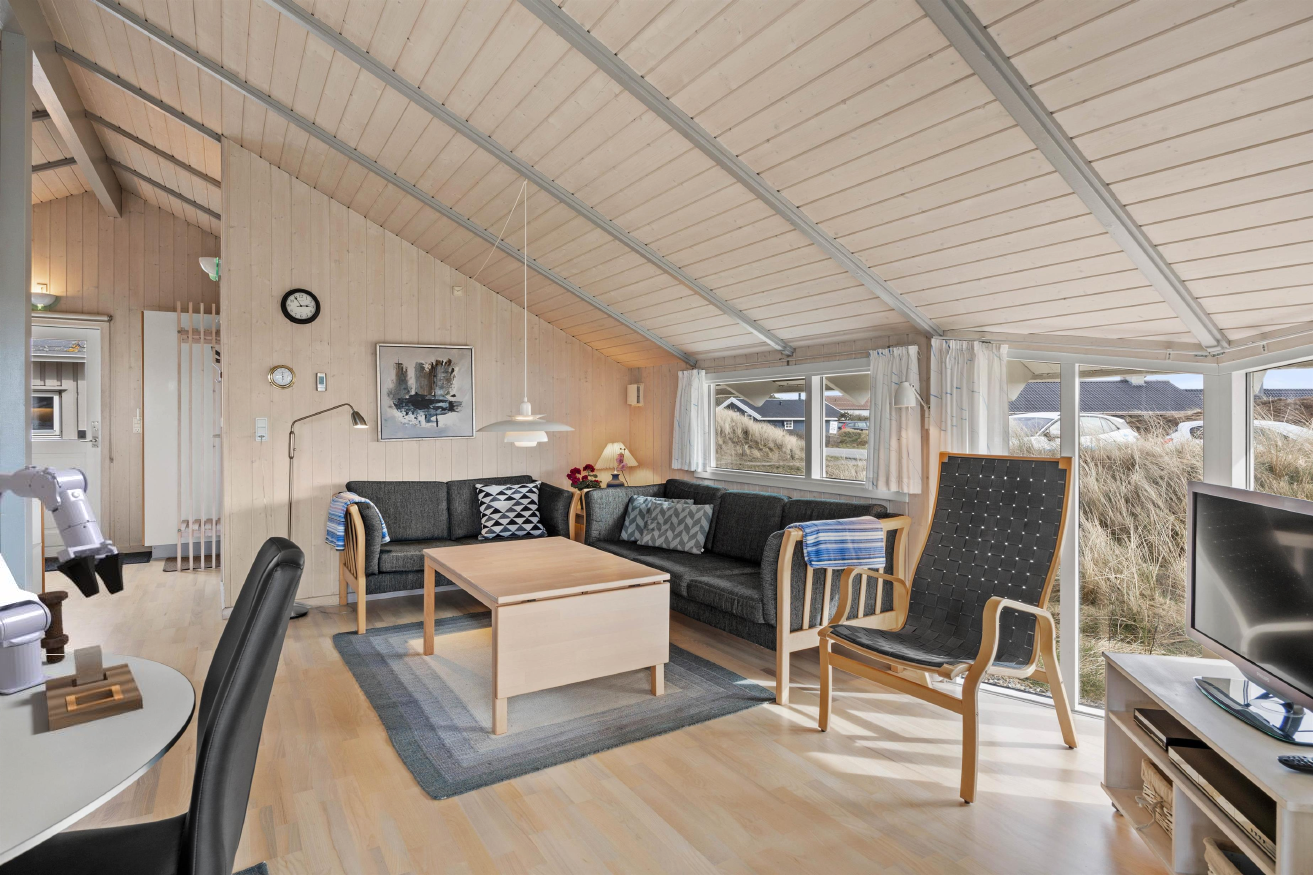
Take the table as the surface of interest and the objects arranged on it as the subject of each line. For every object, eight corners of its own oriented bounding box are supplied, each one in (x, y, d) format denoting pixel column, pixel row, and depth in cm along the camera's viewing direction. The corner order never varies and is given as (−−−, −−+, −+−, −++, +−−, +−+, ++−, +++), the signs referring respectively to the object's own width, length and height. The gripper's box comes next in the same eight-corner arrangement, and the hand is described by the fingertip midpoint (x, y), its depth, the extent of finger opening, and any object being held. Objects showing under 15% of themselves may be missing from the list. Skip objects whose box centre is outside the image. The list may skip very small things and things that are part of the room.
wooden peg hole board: (45, 690, 141) (45, 679, 141) (127, 672, 149) (127, 661, 149) (50, 731, 123) (49, 718, 123) (143, 707, 132) (142, 696, 131)
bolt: (78, 657, 159) (73, 590, 158) (57, 665, 154) (52, 596, 153) (54, 657, 160) (49, 590, 159) (32, 665, 155) (27, 596, 154)
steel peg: (76, 689, 141) (73, 649, 140) (102, 684, 143) (99, 644, 143) (77, 695, 138) (75, 654, 137) (104, 689, 140) (101, 649, 140)
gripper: (75, 518, 131) (103, 586, 130) (122, 520, 145) (148, 581, 144) (34, 535, 129) (62, 604, 128) (86, 535, 144) (111, 597, 143)
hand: (105, 593), depth 136 cm, fingers open, 7 cm apart
